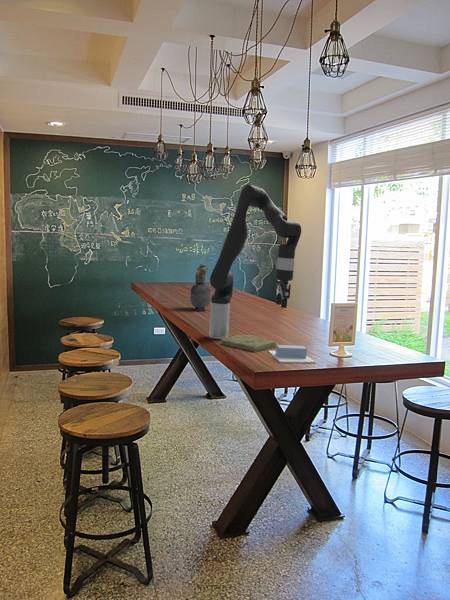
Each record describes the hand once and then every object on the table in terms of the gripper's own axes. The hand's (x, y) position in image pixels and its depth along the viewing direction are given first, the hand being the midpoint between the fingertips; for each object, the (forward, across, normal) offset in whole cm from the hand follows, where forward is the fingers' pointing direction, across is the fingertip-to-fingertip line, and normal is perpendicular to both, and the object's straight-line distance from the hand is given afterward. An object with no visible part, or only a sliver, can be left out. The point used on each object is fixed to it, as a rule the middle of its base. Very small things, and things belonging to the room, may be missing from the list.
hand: (280, 306), depth 226 cm
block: (+21, -4, -5) cm, 22 cm away
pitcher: (+24, +122, +18) cm, 125 cm away
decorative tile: (+23, +18, +8) cm, 30 cm away
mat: (+21, -4, -5) cm, 22 cm away
